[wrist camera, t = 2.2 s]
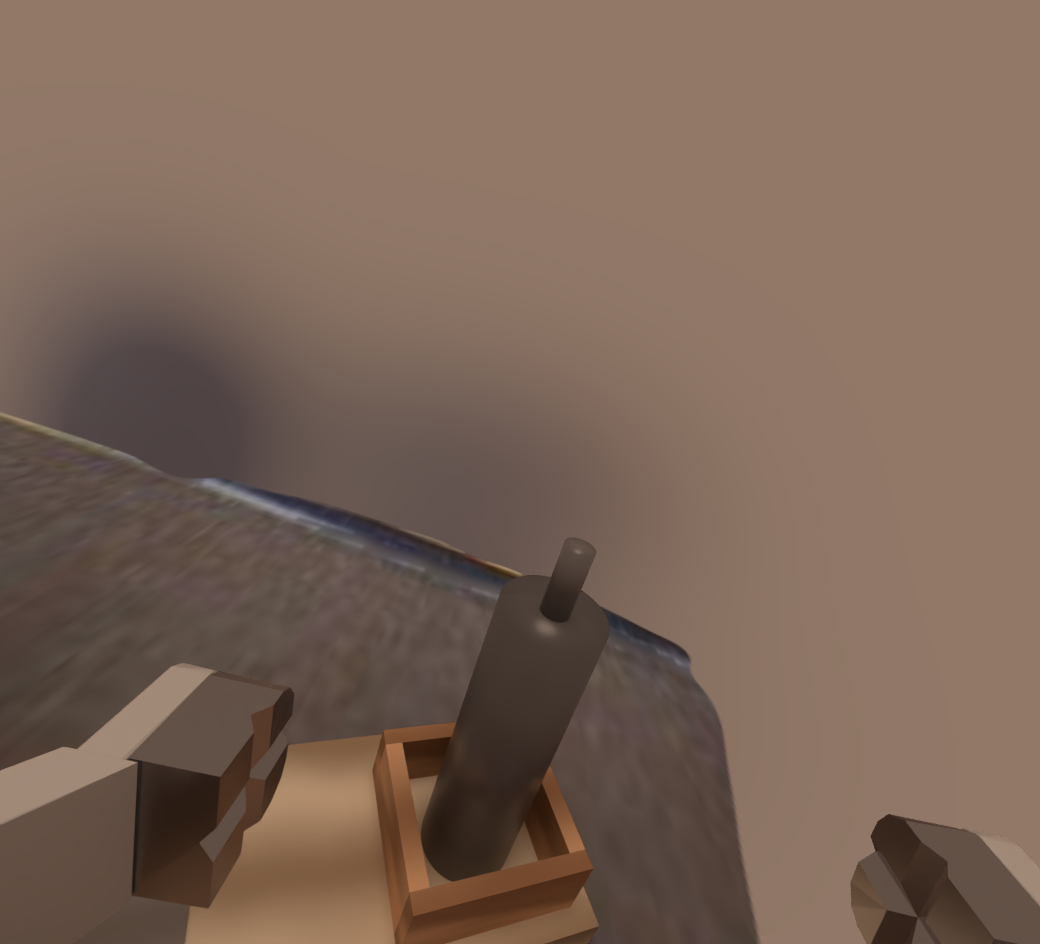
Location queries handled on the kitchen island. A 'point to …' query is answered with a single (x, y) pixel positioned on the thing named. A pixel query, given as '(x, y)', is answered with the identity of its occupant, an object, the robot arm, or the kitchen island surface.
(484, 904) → the cable board
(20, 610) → the kitchen island surface
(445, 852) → the plug
